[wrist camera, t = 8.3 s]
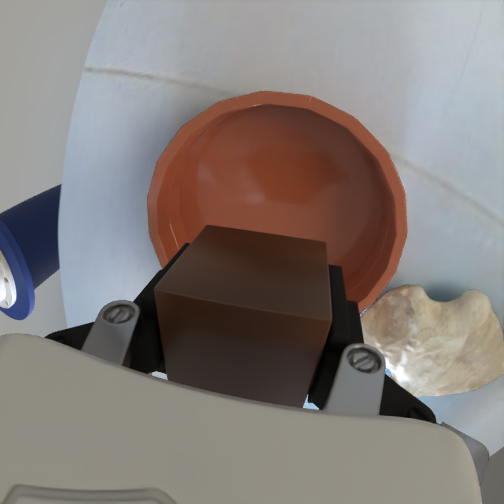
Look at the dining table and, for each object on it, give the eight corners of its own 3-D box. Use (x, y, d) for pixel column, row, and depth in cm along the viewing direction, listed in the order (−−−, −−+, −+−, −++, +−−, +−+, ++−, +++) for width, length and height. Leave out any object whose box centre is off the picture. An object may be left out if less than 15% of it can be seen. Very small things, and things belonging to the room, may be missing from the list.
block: (206, 316, 13) (169, 393, 9) (206, 223, 11) (152, 287, 7) (305, 334, 13) (298, 419, 9) (326, 241, 11) (333, 319, 7)
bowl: (178, 283, 25) (156, 314, 21) (178, 92, 18) (147, 90, 14) (360, 312, 24) (366, 350, 20) (406, 119, 16) (431, 122, 13)
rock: (405, 238, 20) (529, 318, 21) (319, 356, 26) (454, 398, 27) (421, 262, 17) (544, 340, 17) (318, 388, 23) (461, 422, 24)
